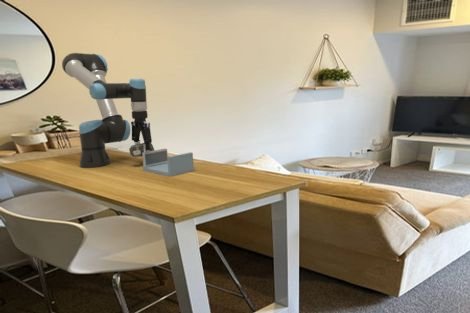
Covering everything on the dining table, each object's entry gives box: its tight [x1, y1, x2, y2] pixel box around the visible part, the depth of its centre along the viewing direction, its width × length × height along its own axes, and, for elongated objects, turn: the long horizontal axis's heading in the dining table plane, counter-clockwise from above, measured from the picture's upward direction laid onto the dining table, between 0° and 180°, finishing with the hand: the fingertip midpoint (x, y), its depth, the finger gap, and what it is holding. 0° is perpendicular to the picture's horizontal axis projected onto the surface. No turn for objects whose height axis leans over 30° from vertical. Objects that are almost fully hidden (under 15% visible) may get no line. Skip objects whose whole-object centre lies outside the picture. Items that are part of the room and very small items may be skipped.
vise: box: [141, 152, 195, 177], centre depth 160 cm, size 22×14×8 cm, turn 47°
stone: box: [128, 142, 155, 158], centre depth 174 cm, size 14×7×10 cm, turn 136°
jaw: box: [142, 148, 169, 167], centre depth 166 cm, size 2×13×7 cm, turn 137°
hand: (142, 155), depth 174 cm, fingers closed on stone, 7 cm apart
